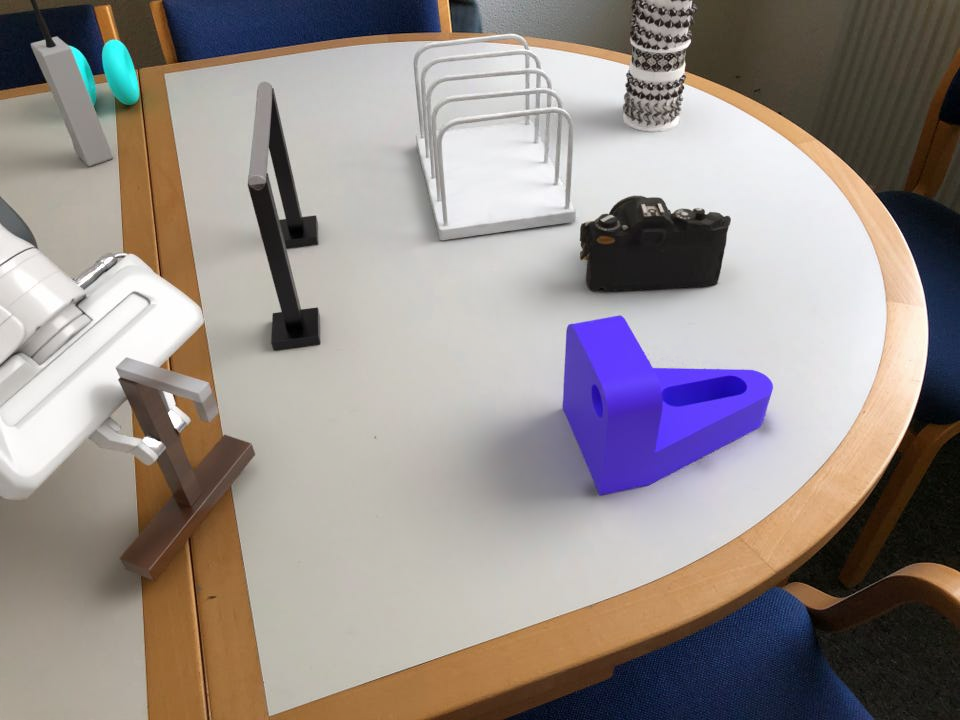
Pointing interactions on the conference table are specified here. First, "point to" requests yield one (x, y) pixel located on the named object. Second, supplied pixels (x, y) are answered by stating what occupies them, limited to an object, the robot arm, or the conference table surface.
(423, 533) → the conference table surface
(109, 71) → the donuts
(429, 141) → the file sorter
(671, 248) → the film camera
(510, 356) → the conference table surface
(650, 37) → the white patterned cylinder
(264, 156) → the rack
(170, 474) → the headphone stand
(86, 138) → the vintage mobile phone
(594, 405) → the bracket
